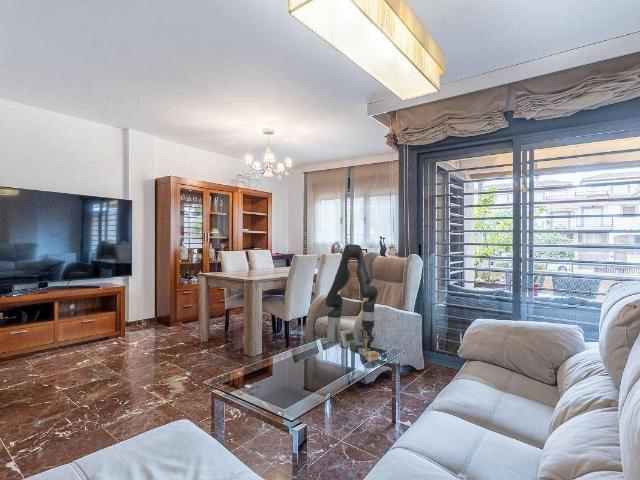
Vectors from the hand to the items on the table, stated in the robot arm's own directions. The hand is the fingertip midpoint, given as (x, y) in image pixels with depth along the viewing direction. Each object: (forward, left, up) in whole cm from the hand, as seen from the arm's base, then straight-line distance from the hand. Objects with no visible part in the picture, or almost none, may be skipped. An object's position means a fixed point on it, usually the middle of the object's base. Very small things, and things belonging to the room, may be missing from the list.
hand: (367, 347), depth 218 cm
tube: (-4, 0, -5) cm, 7 cm away
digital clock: (-27, +1, -6) cm, 27 cm away
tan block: (+6, 0, -6) cm, 8 cm away
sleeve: (-14, 0, -6) cm, 15 cm away
